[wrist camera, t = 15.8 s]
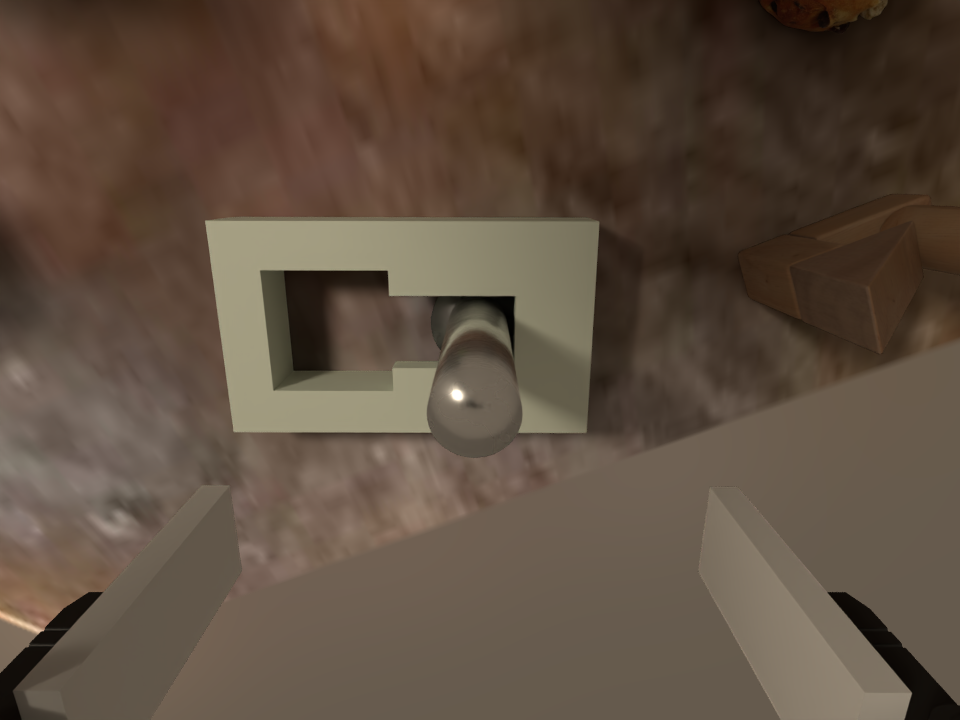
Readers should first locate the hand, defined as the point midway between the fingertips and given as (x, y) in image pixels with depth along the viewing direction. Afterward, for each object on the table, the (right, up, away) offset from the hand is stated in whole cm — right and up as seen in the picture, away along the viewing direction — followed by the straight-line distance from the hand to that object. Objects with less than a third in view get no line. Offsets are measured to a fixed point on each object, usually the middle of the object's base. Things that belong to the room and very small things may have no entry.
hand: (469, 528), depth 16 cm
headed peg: (0, +8, +25) cm, 26 cm away
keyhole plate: (-4, +8, +25) cm, 27 cm away
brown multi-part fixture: (+24, +12, +24) cm, 36 cm away
